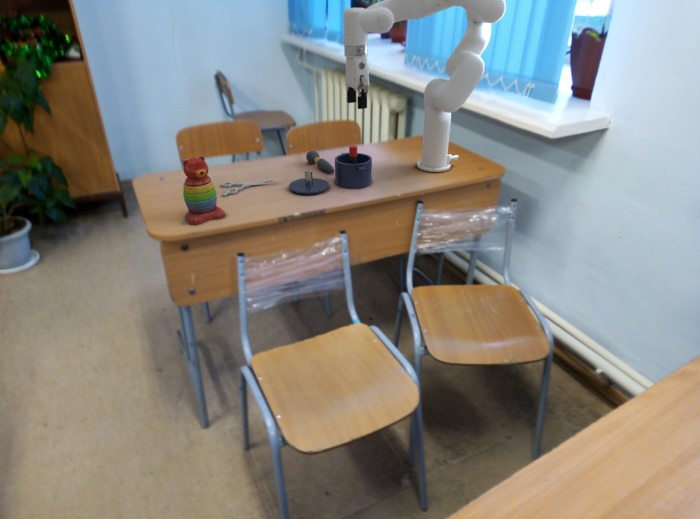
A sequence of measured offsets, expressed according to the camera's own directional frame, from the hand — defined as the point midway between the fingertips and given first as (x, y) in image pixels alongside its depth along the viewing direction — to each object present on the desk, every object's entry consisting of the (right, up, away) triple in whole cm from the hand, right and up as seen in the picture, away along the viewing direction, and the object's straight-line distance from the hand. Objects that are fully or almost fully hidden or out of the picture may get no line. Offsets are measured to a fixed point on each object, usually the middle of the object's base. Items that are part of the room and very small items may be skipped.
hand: (356, 105), depth 163 cm
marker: (-1, -25, +5) cm, 25 cm away
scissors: (-37, -27, +2) cm, 46 cm away
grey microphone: (-13, -18, +19) cm, 29 cm away
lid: (-16, -28, 0) cm, 32 cm away
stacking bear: (-46, -39, -18) cm, 64 cm away
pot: (-1, -25, +5) cm, 26 cm away
